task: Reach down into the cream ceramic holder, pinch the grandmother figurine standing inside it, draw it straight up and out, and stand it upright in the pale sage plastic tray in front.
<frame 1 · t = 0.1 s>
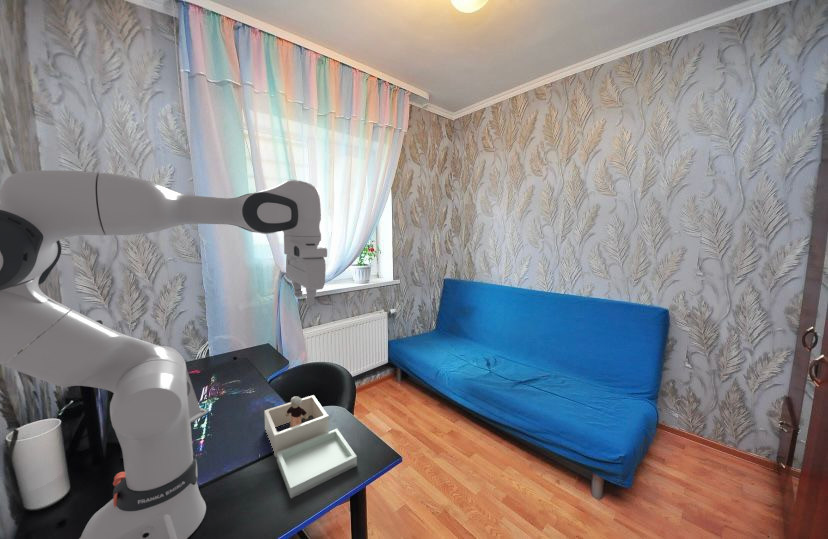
hand: (303, 300, 78), 48 cm above the table, tool pointing down, fingers open, 8 cm apart
grandmother figurine: (296, 433, 97), resting in ceramic holder
phone holder: (172, 424, 98), on the table
ceramic holder: (296, 432, 97), on the table
sage tray: (316, 463, 85), on the table
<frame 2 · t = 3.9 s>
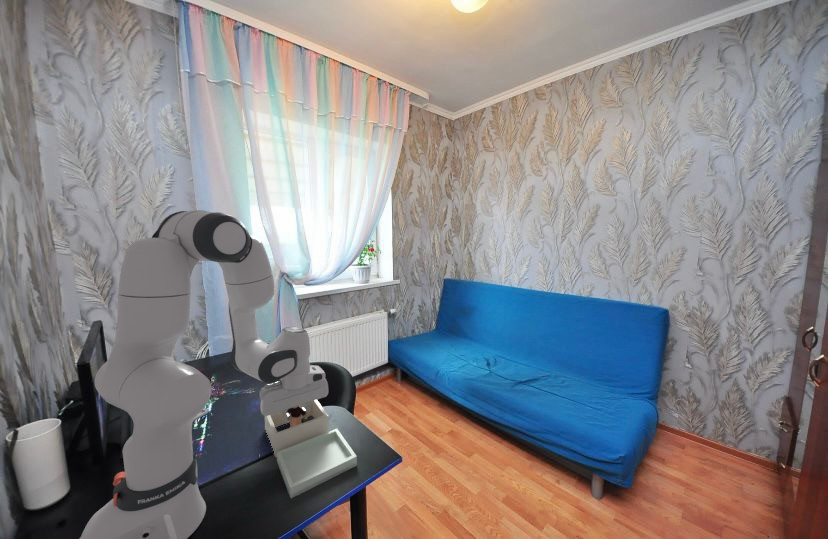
hand: (296, 416, 96), 6 cm above the table, tool pointing down, fingers closed on grandmother figurine, 4 cm apart
grandmother figurine: (296, 433, 97), resting in ceramic holder, touching gripper
everything else where it was.
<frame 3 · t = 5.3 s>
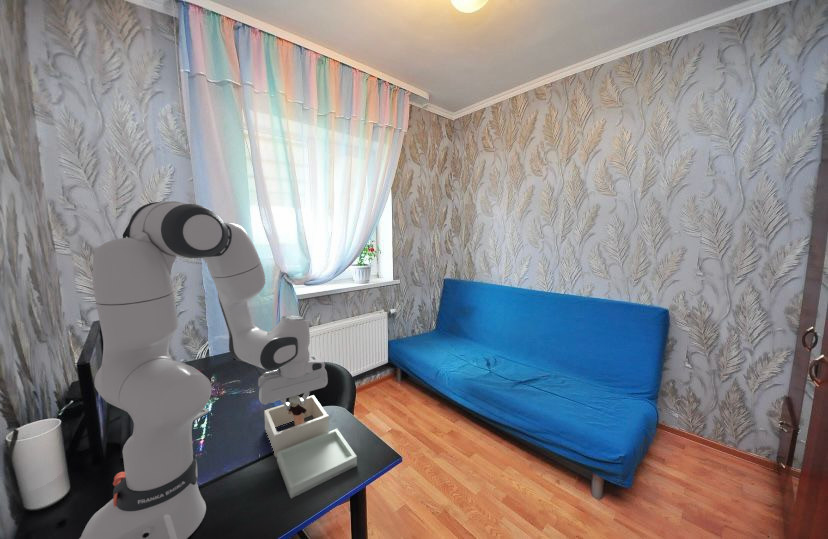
hand: (295, 406, 95), 9 cm above the table, tool pointing down, fingers open, 3 cm apart
grandmother figurine: (301, 429, 97), point 1 cm above the table, touching gripper
everything else where it was.
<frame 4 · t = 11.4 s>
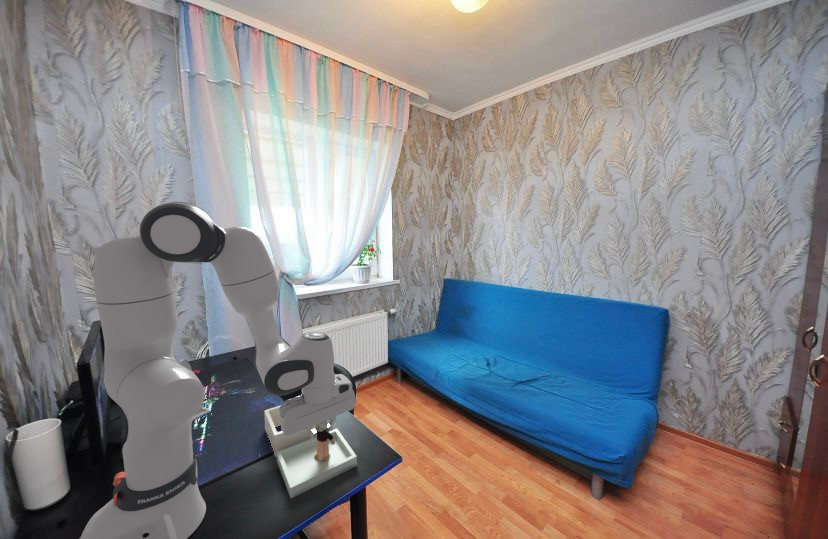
hand: (321, 433, 84), 9 cm above the table, tool pointing down, fingers closed on grandmother figurine, 3 cm apart
grandmother figurine: (323, 458, 86), point 1 cm above the table, touching gripper, sage tray
when the fingers open (9 cm above the table, at t = 11.5 s): grandmother figurine stays where it is, resting on sage tray.
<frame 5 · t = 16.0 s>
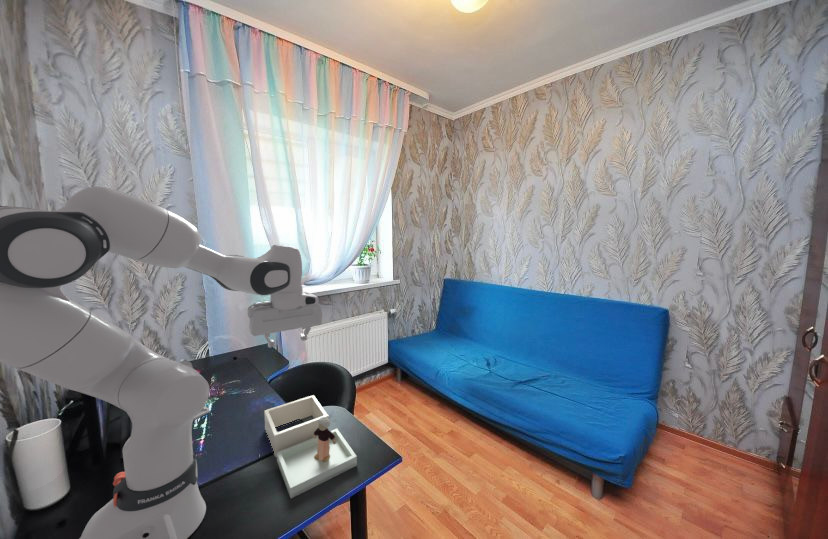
hand: (288, 343, 91), 31 cm above the table, tool pointing down, fingers open, 8 cm apart
grandmother figurine: (324, 458, 86), point 1 cm above the table, touching sage tray
at the end: grandmother figurine inside the target area on the sage tray (2.0 cm from its centre), point 0.8 cm above the sage tray's base; grandmother figurine tilted 0°; the gripper is holding nothing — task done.
